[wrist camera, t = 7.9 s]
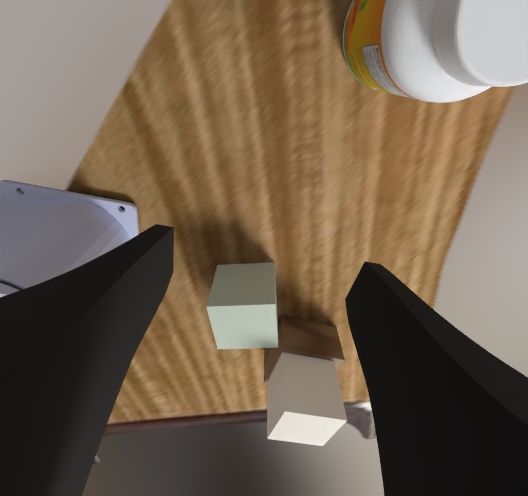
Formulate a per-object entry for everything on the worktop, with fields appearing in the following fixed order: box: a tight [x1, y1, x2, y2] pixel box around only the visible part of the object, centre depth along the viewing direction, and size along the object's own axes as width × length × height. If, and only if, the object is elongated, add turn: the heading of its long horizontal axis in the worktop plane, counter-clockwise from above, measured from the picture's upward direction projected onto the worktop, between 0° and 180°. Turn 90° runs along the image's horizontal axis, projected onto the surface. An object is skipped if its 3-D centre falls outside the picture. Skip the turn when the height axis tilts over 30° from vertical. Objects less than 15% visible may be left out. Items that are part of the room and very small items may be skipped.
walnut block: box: [264, 315, 345, 384], centre depth 28 cm, size 6×6×4 cm
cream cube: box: [267, 352, 347, 446], centre depth 24 cm, size 5×5×5 cm
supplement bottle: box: [343, 0, 528, 103], centre depth 10 cm, size 5×5×10 cm
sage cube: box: [206, 262, 278, 349], centre depth 23 cm, size 5×5×5 cm
